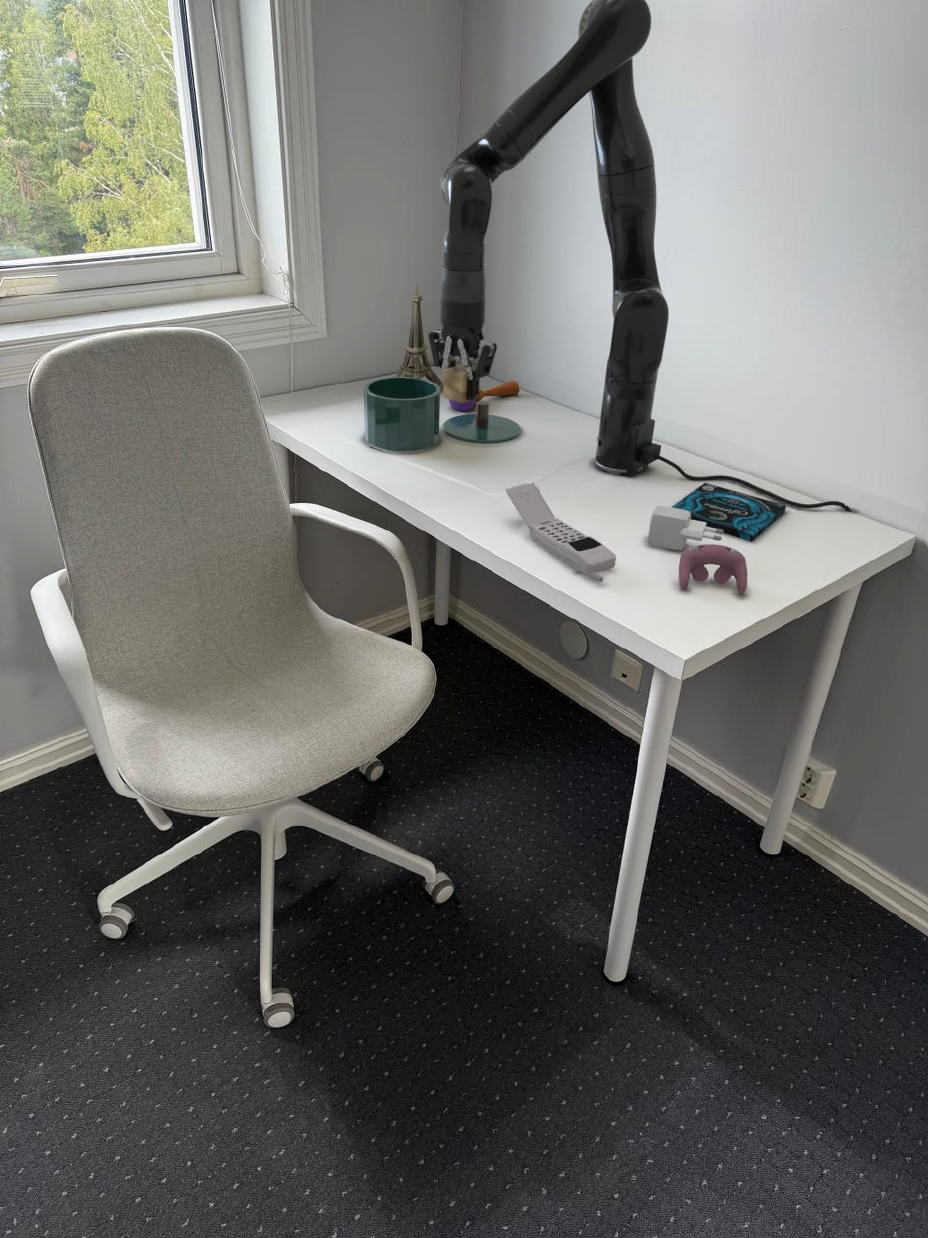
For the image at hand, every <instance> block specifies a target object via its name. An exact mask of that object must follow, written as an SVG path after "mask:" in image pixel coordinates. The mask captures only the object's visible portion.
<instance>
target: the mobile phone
mask: <svg viewBox="0 0 928 1238" xmlns="http://www.w3.org/2000/svg"><path fill="white" fill-rule="evenodd" d="M504 491H505V492H506V494H507V497H508V498H509V499H510V501H511V503H512V504H513V506H514V508H515V509H516V511H517V512H518V514H519V515H520V517H521V519H522V520H523V521H524V523H525V525H526V526H527V528H528V530H529V531H528V533H529V537H530V539H531V540H533V541H534V542H536V543H537V544H538V545H540V546H541V547H542V548H543V549H545V550H546V551H548V552H549V553H551V554H552V555H553V556H555V557H556V558H558V559H559V560H561V561H563V562H564V563H566V564H567V565H568V566H570V567H571V568H573V570H576V571H577V572H580V573H583V574H585V575H587V576H588V577H589V578H592V579H593V580H595V581H597V582H599V583H602V582H603V581H604V578H603V577H602V576H601V575H600V574H599V573H601V572H604V571H608V570H611V569H614V568H615V566H616V561H617V555H616V554H615V552H613V551H611V550H610V549H609V548H608V547H607V546H606V545H604V544H603V543H602V542H600V541H598V540H597V539H596V538H594V537H592V536H588V535H587V534H585V533H583V532H582V531H580V530H578V529H576V528H574V527H572V526H571V525H570V524H568V523H566V522H564V521H563V520H560V518H558V517H557V518H556V516H555V515H554V513H553V511H552V510H551V509H550V506H549V505H548V503H547V502H546V500H545V498H544V496H543V495H542V493H541V490H540V489H539V487H538V486H537V485H536V484H535V483H534V482H530V483H524V484H519V485H514V486H512V487H509V488H505V489H504Z"/></svg>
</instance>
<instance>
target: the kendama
mask: <svg viewBox="0 0 928 1238" xmlns="http://www.w3.org/2000/svg"><path fill="white" fill-rule="evenodd" d="M520 389H521V388H520V384H519V382H517V381H516V380H511V381H507V382H505V383H503V384H499V385H497V386H494V387H491V388H489V389H486V390H482V389H480V388H479V395H478V398H476V399H474V400H471V401H467V402H464V403H460V402H457V401H453V400H450V399H448V402H449V405H450V406H451V408H452V409H453V410H455V411H457V412H468V411H470V410H472V408H474V407H475V406H476V403H477V402H478V401H483V400H482V399H484V398H485V397H509V396H518V394H519V393H520Z"/></svg>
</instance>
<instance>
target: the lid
mask: <svg viewBox="0 0 928 1238" xmlns="http://www.w3.org/2000/svg"><path fill="white" fill-rule="evenodd" d="M442 430H443V432H444V433H445V434H446V435H447V436H449V437H451V438H453V439H456V440H459V441H463V442H468V443H474V444H498V443H504V442H508V441H511V440H513V439H515V438H517V437H518V436H520V434H521V426H520V425H519V424H518V423H517V422H516V421H514V420H512V419H510V418H507V417H505V416H500V415H497V414H490V401H487V400H481V401H478V402H477V403H476V405H475V413H467V414H460V415H459V414H458V415H456V416H452V417H449V418H448V419H446V420H444V422H443V424H442Z"/></svg>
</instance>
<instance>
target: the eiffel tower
mask: <svg viewBox="0 0 928 1238" xmlns="http://www.w3.org/2000/svg"><path fill="white" fill-rule="evenodd" d="M415 284H416V285H415V294H412V295H411V296H410V297H411V298H410V299H409V301H410V302H412V306H411V307H412V308H411V316H410V324H409V334H408V341H407V345H405V346H404V351H405V356H404V360H403V362H402V364H401V365H399V368H400V369H399V371H398V372H397V373H396V374H395V376H394V377H413V378H420V379H424V377H425V378H426V380H429V381H431V382H433V383H436V384H437V385H438V386H439V387H440V392H441V391H443V381H441V379H440V378H439V376H438V375H437V373H436V372H435V371H434V370H433V369H432V367H433V364H431V363H430V361H429V360H428V355H427V350H428V345H427V344H425V337H424V330H423V329H424V328H423V318H422V309H421V303H422V302H423V301H424V298H423V295H420V294H418V292H419V291H418V279H416V282H415ZM421 362H422V363H421Z"/></svg>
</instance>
